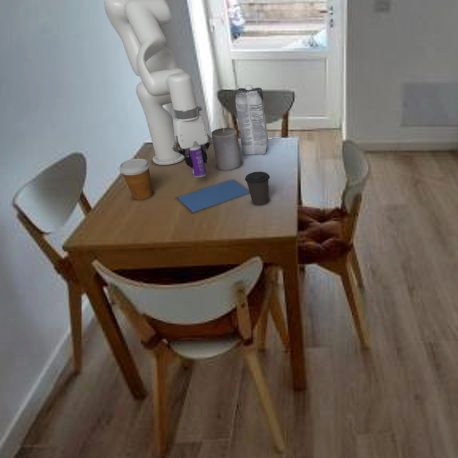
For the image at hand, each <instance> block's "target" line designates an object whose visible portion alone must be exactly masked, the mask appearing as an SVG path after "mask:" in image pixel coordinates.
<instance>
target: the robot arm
mask: <svg viewBox="0 0 458 458" xmlns="http://www.w3.org/2000/svg"><path fill="white" fill-rule="evenodd" d="M103 6H104V10H105V11H104V12H105V14H106V16H107V19H108V21H109V22H110V24H111V26H112V28H113V29H114V31H115V32H116V33H117V35H118V37H119V38H120V40H121V42H122V45H123V48H124V51H125V53H126V56H127V59H128V62H129V65H130V67H131V69H132V72H133V74H135V75H136V77H139V78H140V80H141V81H140V82H139V83H138V84H137V85H136V87H135V93H136V96H137V98H138V99H137V100H138V101H139V103H140V105H141V107H142V111H143V114H144V116H145V120H146V124H147V128H148V132H149V135H150V139H151V143H152V146H153V150H154V154H155V155H154V156H153V157H152V163H154V164H155V165H159V166H169V165H174V164H178V163H180V162H182V161H185V162H184V163H185V164H186V166H187V167H189V168H190V169H191V168H192V167H193V165H192V160H191V157H190V156H189V148H191V147H192V146H193V143H194V141H196V142H197V143H198V144H199V145H201V149H202V154H203V159H204V164H208V153H207V152H208V150H209V148H210V146H211V144H213V138H212V136H210V135H209V134H208V132H207V128H206V125H205V122H204V119H203V117H202V115H201V114H200V112H201V111H203V107H202V106H201V105H200V106H199V105H198V102H197V98H196V93H195V87H194V83H193V78H192V76H191V75H190V74H189V73H187V72H186V70H184V69H183V68H180V67H179V66H178V62H177V60H176V57H175V55H174V52H173V51H172V50H171V49H170V48H169V47H167V46H166V45H167V38H166V36H165V35H164V32H163V30H162V28H161V26H160V25H162V26H163V25H168V24H170V23H171V22H172V19H173V13H172V10H171V7H170V4H169V2H167V0H104V4H103ZM168 104H172V108H173V113H174V118H173V116H172V114H171V113H170V111H169V110H168V109H166V108H165V107H163V106H165V105H168Z"/></svg>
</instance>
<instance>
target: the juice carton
mask: <svg viewBox="0 0 458 458" xmlns="http://www.w3.org/2000/svg"><path fill="white" fill-rule="evenodd" d="M234 101H235V110H236V117H237V123H238V130H239V137H240V144H241V147H242V151H243V153H244V155H245V156H251V155H266V152H267V149H268V145H269V135H268V126H267V116H266V107H265V99H264V93H263V89H262V87H254V88H253V85H252V84H246V85H245V86H244V87H239V88H238V89H237V91H236V92H235V93H234Z"/></svg>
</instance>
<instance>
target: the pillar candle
mask: <svg viewBox="0 0 458 458" xmlns="http://www.w3.org/2000/svg"><path fill="white" fill-rule="evenodd" d="M211 138H213V142H212V145H213V149H214V150H213V152H214V156H215V162H216V168H217V169H219V170H223V171H230V170H234V169H237V168H240V167H241V166H242V165H243V164H242V163H243V162H242V155H241V149H240V142H239V135H238V130H237V129H236V128H233V127H220V128H217V129H215V130H212V131H211Z"/></svg>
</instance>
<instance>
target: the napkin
mask: <svg viewBox="0 0 458 458" xmlns="http://www.w3.org/2000/svg"><path fill="white" fill-rule="evenodd" d="M248 194H250V192H249V189H246V188H245V187H244V186H242V185H241V184H239V183H238V182H236V180H234V179H229V180H227V181H223V182H221V183H220V182H219V183H217V184H214V185H211V186H208V187H206V188H205V187H204V188H202V189H199V190H196V191H193V192H189V193H187V194H184V195H181V196H178V197H177V199H178V200H179V201H180V202H181V203H182V204H183V205H184V206H185V207H186V208H188V209H189V211H191V212H192V213H196V212H199V211H202V210H205V209H208V208H210V207H213V206H216V205H219V204H223V203H224V202H228V201H230V200H233V199H235V198H238V197H242V196H244V195H248Z"/></svg>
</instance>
